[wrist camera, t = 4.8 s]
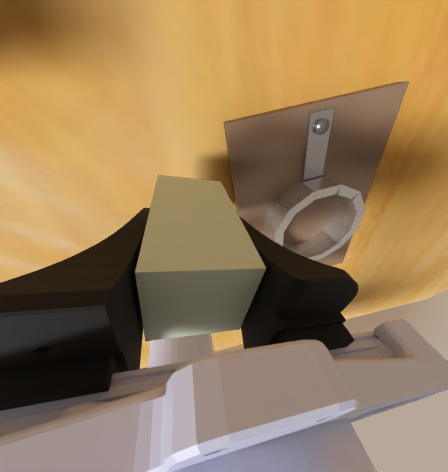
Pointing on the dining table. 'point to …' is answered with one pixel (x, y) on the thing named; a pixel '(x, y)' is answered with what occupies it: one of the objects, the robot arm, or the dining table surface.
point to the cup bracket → (311, 168)
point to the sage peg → (194, 261)
